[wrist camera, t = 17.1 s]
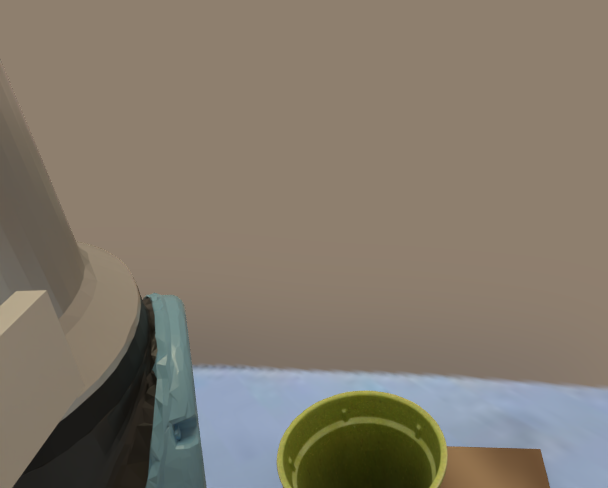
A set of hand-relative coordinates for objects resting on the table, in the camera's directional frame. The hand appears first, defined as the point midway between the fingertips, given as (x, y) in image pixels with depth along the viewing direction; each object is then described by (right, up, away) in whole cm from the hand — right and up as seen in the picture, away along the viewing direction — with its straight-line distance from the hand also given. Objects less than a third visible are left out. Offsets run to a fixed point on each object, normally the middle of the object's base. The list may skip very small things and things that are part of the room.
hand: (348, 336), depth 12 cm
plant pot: (+3, -17, +24) cm, 30 cm away
